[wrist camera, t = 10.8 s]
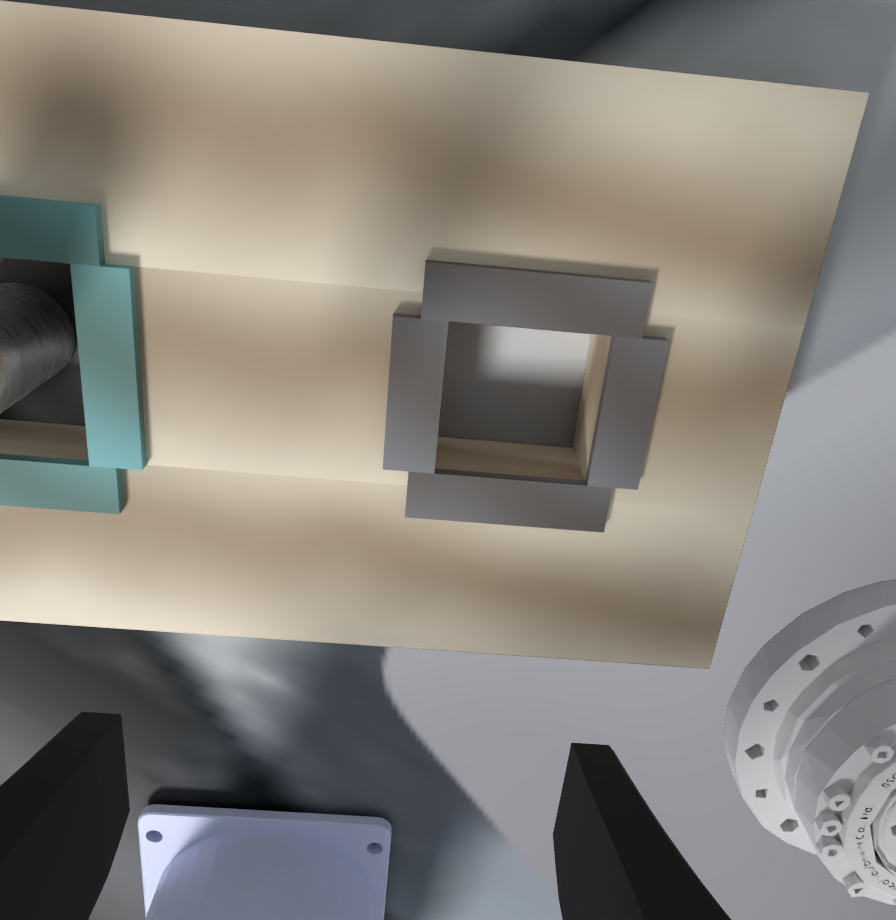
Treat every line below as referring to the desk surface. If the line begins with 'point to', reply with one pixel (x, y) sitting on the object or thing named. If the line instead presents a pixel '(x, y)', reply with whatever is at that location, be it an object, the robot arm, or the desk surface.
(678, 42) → the desk surface
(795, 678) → the mechanical component
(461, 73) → the dock board
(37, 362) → the steel pin
